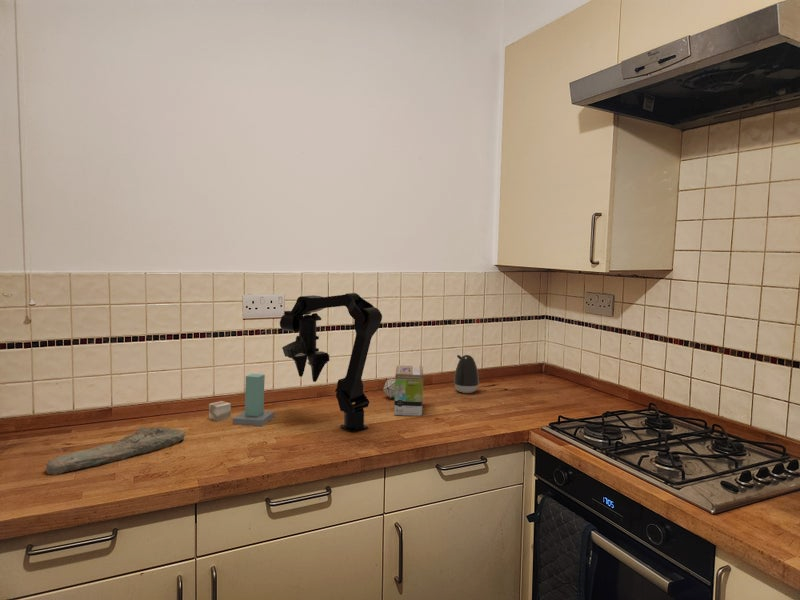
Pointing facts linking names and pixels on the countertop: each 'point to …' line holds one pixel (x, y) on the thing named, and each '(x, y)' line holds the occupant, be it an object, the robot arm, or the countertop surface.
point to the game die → (389, 388)
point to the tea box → (408, 390)
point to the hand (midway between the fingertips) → (307, 379)
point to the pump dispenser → (466, 375)
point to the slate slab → (254, 419)
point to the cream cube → (219, 411)
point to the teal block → (254, 395)
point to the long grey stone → (116, 449)
